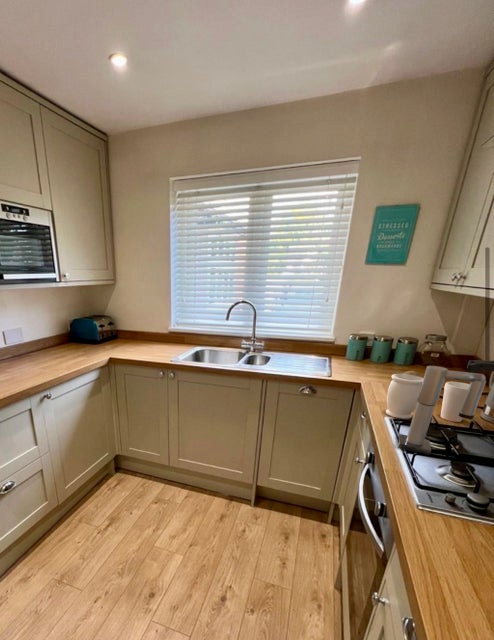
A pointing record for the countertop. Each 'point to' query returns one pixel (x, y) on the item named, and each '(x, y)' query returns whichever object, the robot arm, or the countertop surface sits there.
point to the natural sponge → (412, 373)
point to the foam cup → (453, 400)
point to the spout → (438, 374)
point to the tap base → (414, 447)
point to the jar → (403, 395)
